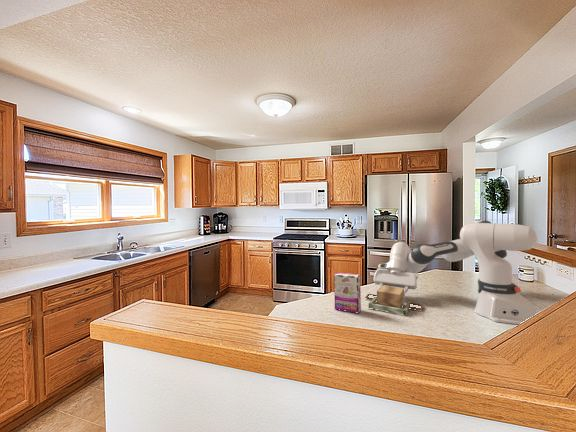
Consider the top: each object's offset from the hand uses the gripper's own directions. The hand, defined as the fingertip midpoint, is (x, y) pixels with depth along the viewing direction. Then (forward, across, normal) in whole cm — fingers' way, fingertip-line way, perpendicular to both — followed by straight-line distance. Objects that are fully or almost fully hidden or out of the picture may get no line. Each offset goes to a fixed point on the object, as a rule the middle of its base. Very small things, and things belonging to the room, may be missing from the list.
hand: (392, 293), depth 132 cm
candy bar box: (+17, +16, +11) cm, 25 cm away
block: (+7, 0, +1) cm, 7 cm away
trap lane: (+7, 0, +1) cm, 7 cm away
